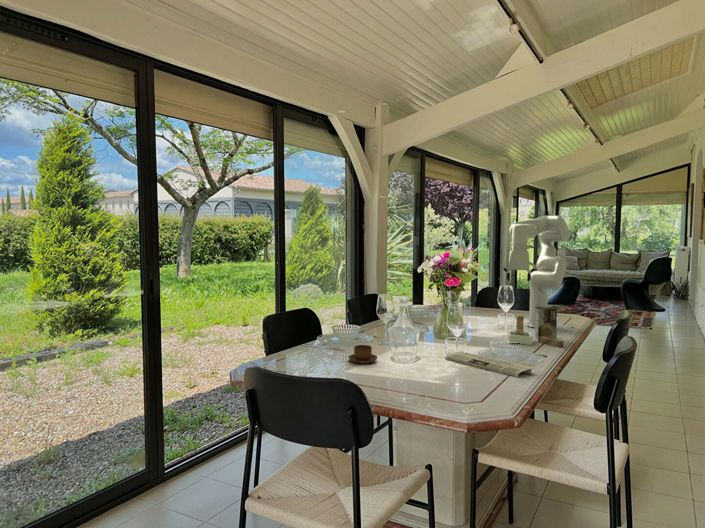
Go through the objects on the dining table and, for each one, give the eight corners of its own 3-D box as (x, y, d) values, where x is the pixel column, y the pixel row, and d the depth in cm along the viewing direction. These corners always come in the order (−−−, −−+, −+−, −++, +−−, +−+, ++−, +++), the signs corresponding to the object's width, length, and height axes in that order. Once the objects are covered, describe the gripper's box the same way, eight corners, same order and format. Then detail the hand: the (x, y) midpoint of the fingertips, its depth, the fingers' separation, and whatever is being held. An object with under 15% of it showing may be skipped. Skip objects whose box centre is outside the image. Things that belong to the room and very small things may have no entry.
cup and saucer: (344, 359, 213) (344, 345, 213) (369, 356, 218) (369, 342, 218) (355, 366, 202) (355, 351, 202) (382, 363, 207) (382, 348, 207)
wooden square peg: (515, 339, 248) (516, 315, 247) (522, 339, 248) (522, 315, 247) (516, 340, 245) (517, 316, 244) (522, 340, 245) (523, 316, 244)
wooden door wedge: (538, 342, 245) (538, 336, 245) (542, 342, 247) (542, 336, 247) (558, 348, 235) (559, 341, 235) (563, 347, 237) (563, 341, 236)
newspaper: (444, 360, 213) (445, 352, 213) (462, 355, 221) (462, 347, 221) (520, 379, 187) (521, 370, 187) (537, 373, 195) (537, 364, 195)
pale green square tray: (507, 338, 253) (507, 330, 252) (529, 339, 250) (530, 332, 250) (508, 343, 242) (509, 335, 242) (531, 344, 240) (532, 336, 240)
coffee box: (552, 338, 255) (553, 306, 253) (556, 340, 248) (557, 308, 247) (534, 337, 256) (535, 306, 254) (537, 340, 249) (538, 308, 248)
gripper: (536, 248, 261) (535, 280, 262) (501, 247, 265) (500, 279, 266) (537, 248, 253) (536, 282, 255) (502, 248, 258) (501, 281, 259)
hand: (518, 281), depth 261 cm, fingers open, 9 cm apart
